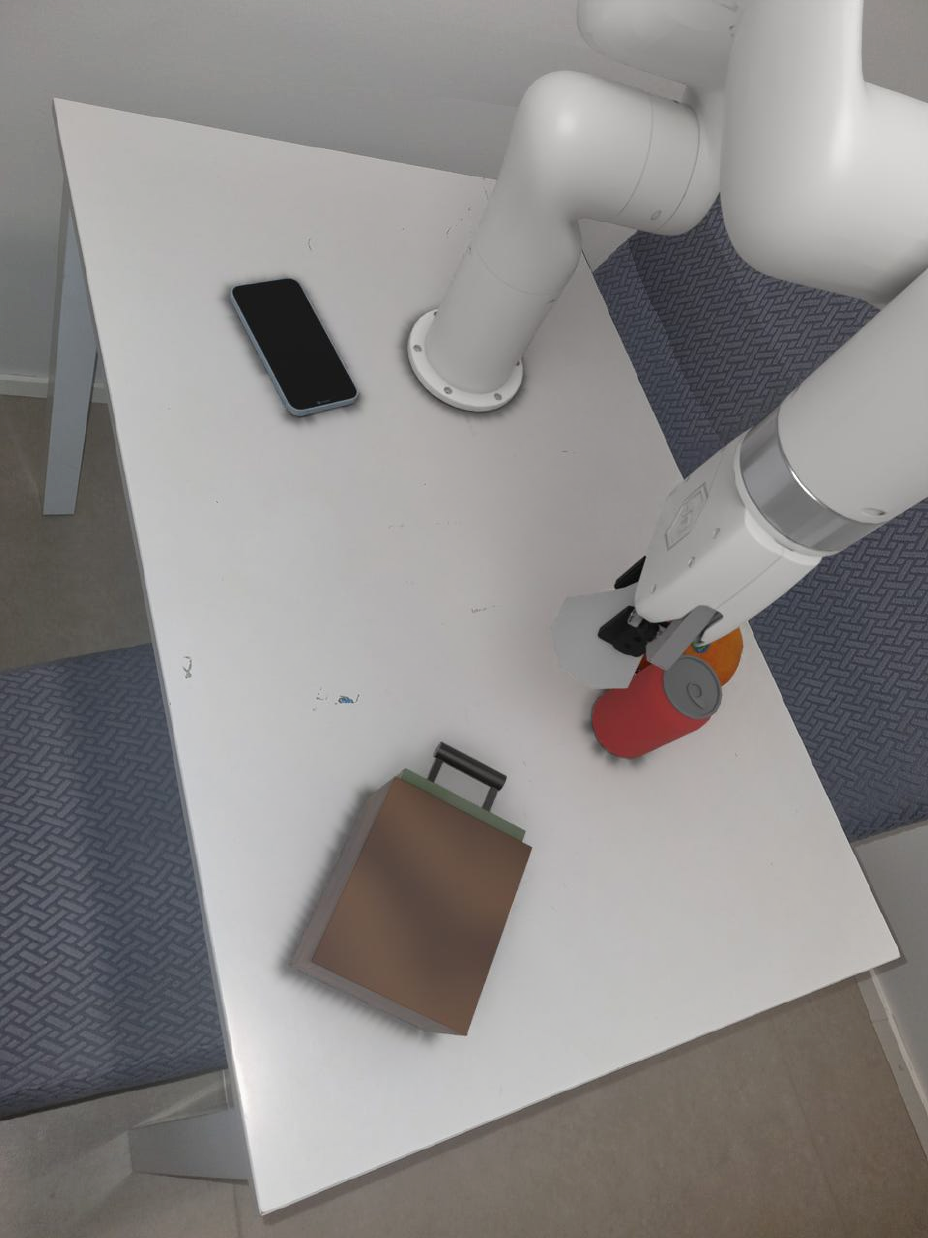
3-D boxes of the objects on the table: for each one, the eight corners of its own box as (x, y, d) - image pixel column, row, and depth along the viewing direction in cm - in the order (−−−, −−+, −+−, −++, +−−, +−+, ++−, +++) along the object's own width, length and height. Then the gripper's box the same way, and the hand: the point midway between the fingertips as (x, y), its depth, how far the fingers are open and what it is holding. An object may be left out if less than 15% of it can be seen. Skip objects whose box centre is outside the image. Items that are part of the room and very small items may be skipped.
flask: (635, 704, 61) (720, 655, 52) (542, 674, 59) (614, 618, 50) (643, 615, 64) (725, 554, 55) (555, 584, 62) (625, 516, 54)
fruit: (685, 601, 89) (732, 568, 82) (723, 695, 86) (775, 669, 79) (599, 617, 85) (642, 584, 78) (637, 718, 82) (685, 692, 75)
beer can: (610, 771, 79) (685, 737, 68) (576, 706, 80) (645, 663, 70) (662, 744, 82) (741, 707, 71) (629, 682, 83) (702, 637, 73)
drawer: (402, 741, 72) (428, 718, 66) (510, 797, 73) (544, 780, 67) (311, 938, 64) (331, 932, 58) (435, 998, 65) (466, 997, 59)
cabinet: (365, 799, 70) (395, 775, 62) (489, 862, 71) (532, 847, 64) (287, 966, 63) (310, 961, 56) (426, 1032, 65) (466, 1036, 57)
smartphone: (296, 275, 87) (362, 397, 83) (295, 282, 87) (360, 402, 84) (226, 286, 83) (292, 413, 80) (225, 292, 84) (290, 419, 81)
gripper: (781, 327, 45) (610, 502, 61) (717, 567, 37) (538, 697, 53) (895, 399, 47) (698, 553, 62) (857, 648, 38) (642, 752, 54)
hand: (626, 618), depth 58 cm, fingers closed on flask, 3 cm apart
